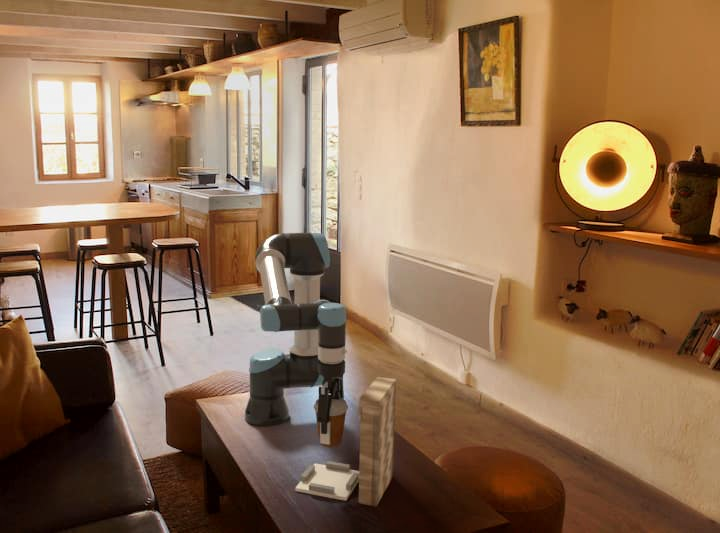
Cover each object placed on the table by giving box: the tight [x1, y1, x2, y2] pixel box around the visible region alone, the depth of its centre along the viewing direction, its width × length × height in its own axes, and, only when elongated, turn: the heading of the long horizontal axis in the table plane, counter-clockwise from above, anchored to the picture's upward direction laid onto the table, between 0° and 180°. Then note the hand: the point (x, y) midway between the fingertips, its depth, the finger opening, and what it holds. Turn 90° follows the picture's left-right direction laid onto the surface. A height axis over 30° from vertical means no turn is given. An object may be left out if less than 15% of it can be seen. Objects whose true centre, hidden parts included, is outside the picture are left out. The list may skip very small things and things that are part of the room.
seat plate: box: [294, 460, 359, 501], centre depth 195 cm, size 15×15×2 cm
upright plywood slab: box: [358, 376, 397, 507], centre depth 190 cm, size 17×6×30 cm, turn 162°
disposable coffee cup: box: [313, 398, 349, 448], centre depth 192 cm, size 10×10×12 cm
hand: (330, 436), depth 193 cm, fingers closed on disposable coffee cup, 8 cm apart
